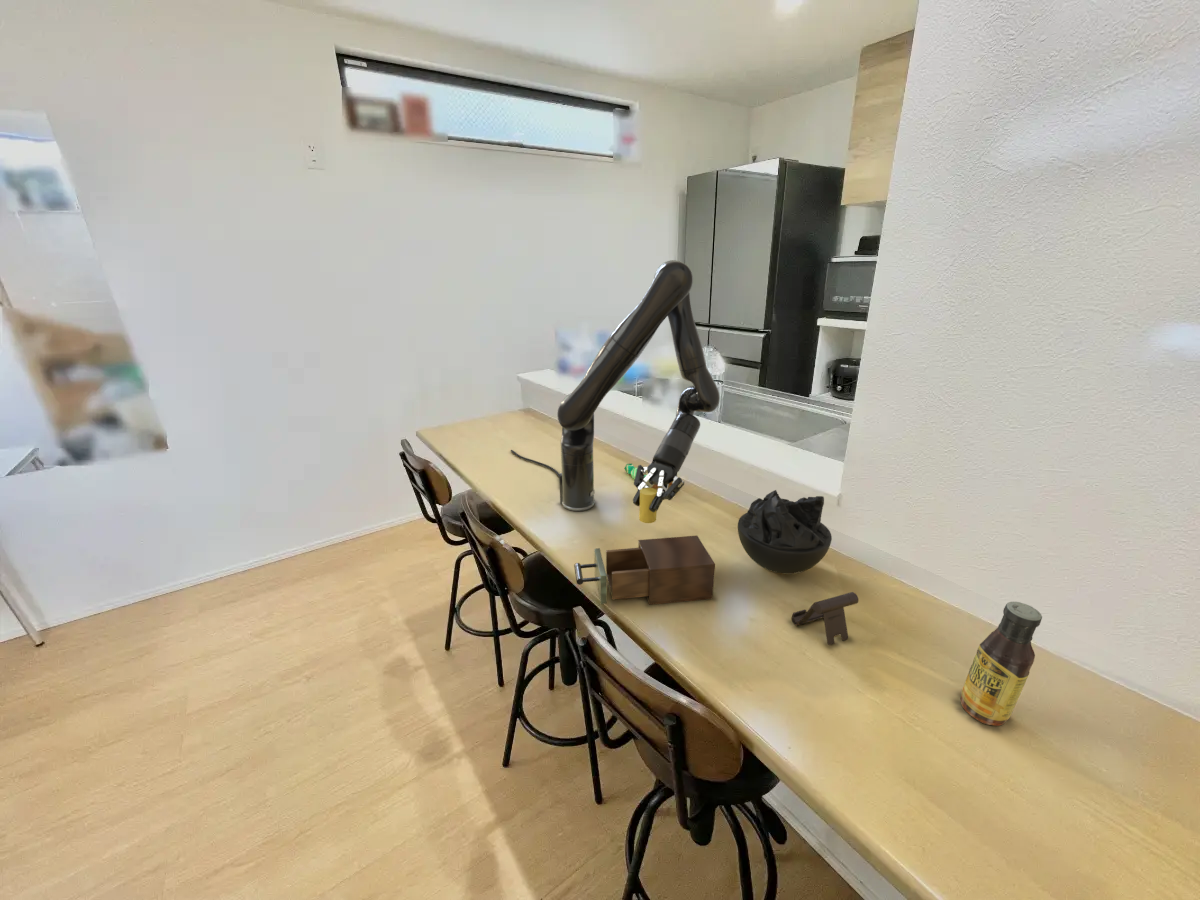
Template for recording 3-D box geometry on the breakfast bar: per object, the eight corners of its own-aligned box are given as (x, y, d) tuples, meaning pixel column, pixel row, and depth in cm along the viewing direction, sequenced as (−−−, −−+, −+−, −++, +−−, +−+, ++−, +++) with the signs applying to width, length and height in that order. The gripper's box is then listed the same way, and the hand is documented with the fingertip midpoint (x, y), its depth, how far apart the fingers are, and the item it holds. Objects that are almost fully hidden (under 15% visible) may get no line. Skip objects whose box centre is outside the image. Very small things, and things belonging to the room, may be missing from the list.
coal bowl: (720, 571, 113) (726, 497, 106) (752, 535, 128) (760, 468, 121) (810, 604, 101) (824, 524, 95) (834, 561, 116) (848, 488, 110)
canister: (635, 520, 126) (636, 491, 124) (644, 513, 130) (645, 485, 127) (650, 525, 124) (651, 496, 121) (659, 518, 127) (660, 490, 124)
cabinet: (649, 605, 102) (650, 569, 99) (637, 572, 113) (638, 540, 110) (712, 598, 104) (715, 564, 101) (695, 567, 114) (697, 535, 111)
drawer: (578, 606, 100) (577, 578, 98) (573, 576, 110) (572, 550, 108) (660, 598, 102) (661, 570, 100) (649, 570, 112) (649, 544, 110)
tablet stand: (826, 611, 100) (832, 576, 97) (857, 636, 93) (865, 599, 90) (790, 621, 97) (796, 585, 94) (820, 648, 90) (827, 610, 87)
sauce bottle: (949, 696, 80) (981, 594, 73) (985, 693, 80) (1020, 592, 73) (981, 732, 73) (1020, 624, 67) (1020, 729, 74) (1063, 621, 67)
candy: (622, 471, 166) (628, 460, 166) (629, 474, 168) (635, 464, 168) (640, 484, 156) (646, 473, 156) (647, 488, 158) (654, 477, 158)
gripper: (645, 437, 130) (615, 493, 126) (691, 450, 121) (661, 511, 117) (656, 450, 136) (627, 505, 131) (701, 464, 127) (672, 522, 122)
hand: (643, 507), depth 124 cm, fingers closed on canister, 4 cm apart
